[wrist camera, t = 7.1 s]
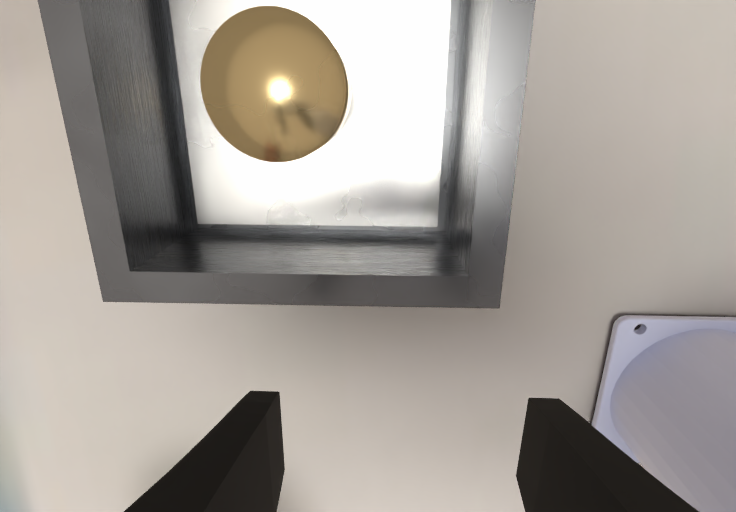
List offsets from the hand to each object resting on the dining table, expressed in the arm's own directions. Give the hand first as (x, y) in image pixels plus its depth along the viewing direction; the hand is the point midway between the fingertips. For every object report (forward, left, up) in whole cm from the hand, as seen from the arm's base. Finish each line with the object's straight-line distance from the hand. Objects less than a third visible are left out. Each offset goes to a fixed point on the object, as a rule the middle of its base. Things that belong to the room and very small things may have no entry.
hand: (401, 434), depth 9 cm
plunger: (+3, -7, -9) cm, 12 cm away
